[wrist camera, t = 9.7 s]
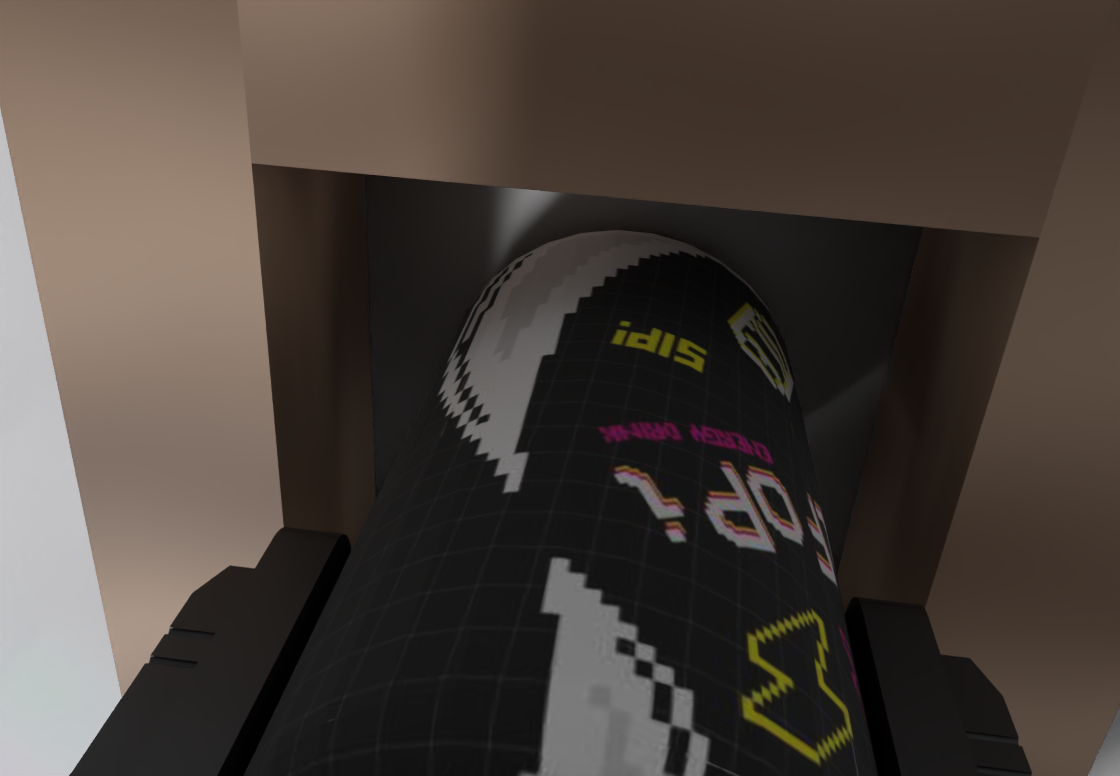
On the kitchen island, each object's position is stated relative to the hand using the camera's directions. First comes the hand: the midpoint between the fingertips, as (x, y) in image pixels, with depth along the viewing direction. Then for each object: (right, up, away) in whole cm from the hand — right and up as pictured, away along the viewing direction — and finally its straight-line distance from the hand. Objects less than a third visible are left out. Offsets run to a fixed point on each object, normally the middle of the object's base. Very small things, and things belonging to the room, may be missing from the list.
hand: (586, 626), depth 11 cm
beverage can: (+1, +3, +6) cm, 7 cm away
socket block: (+1, +3, +6) cm, 7 cm away
